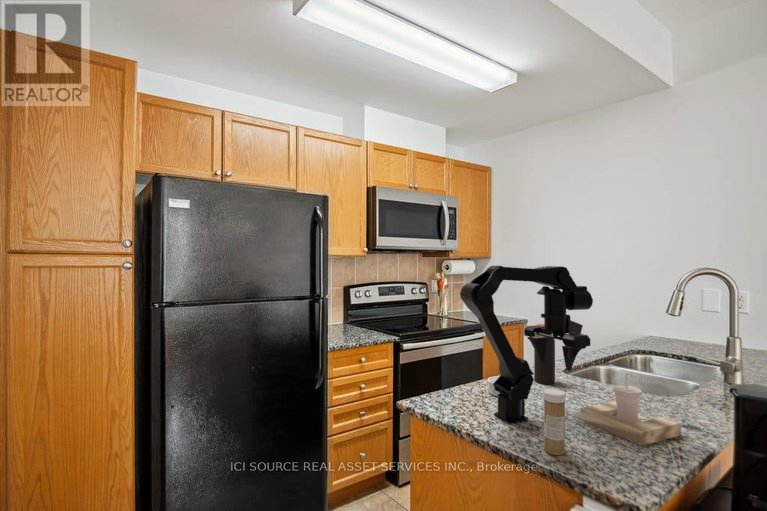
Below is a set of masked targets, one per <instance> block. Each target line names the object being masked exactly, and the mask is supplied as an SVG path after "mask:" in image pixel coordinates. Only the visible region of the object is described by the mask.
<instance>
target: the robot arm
mask: <svg viewBox="0 0 767 511" xmlns="http://www.w3.org/2000/svg"><path fill="white" fill-rule="evenodd" d="M503 281H511V282H512V281H514V282H516V281H517V282H531V283H535V284H539V285H542V287H541V288H540V289H539V290H538V291H537V292H536V294H537V295H540V296H541V295H542V296H543V300H544V302H543V303H544V304H543V306H544V308H543V309H544V310H543V312H544V313H541V314H540V318H541V319H543V318H544V322H543V324H544V326H539V325H537V324H536V325H526V326H525V328H524V332H523V333H524V336H526V337H527V340H529V341H530V343H531V345H532V347H533V348H534V349H535V351H536V353H537V355H538V357H539V359H540V361H541V362H542V363H544V362H545V355H546V342H547V341H548V339H549V338H553V339H554V340H558V341H562V343H563V344H564V345H562V346H561V348H562V354H563V360H564V366H565V370H566V371H567V372H569V371H571V370H572V367H573V365H574V363H575V361H576V358H577V356H578V354H579V352H580V351H581V350H584V349H586V348H587V347H591V338H590V337H589V335H587V334H583V333H582V330H583V324H581V323H579V322H576V321H573V320H571V315H570V314H568V313H567V310H568V311H579V310H580V311H582V310H589V309H590V308H591V307H593V303H594V300H593V299H594V298H593V297H592V294H591V292H590V291H588V286H587V285H586V286H584V285H577V284H576V282H575V281H574V279H573V277H572V275H571V274H570V271H569V269H568V268H567V267H566V266H561V265H560V266H554V265H548V266H539V267H535V268H525V267H511V266H503V265H490V266H488V268H486V269H485V270H484V271H483V272H482V273H480V274H479V275H477V276H476V277H474V279H472V280H471V281H470V282H468V283H466V284H464V285H463V286H462V288H461V290H460V293H459V295H460V299H461V301H462V302H463V303H464V304H465V306H466V307H467V309H468V310H469V311H470V312H471V313H472V314H473V315H474V316H476V318H477V321H479V323H480V326H481V328H482V329H483V331H484V334H485V336H486V337H487V339H488V342H489V344H490V346H491V348H492V349H493V352H494V354H495V356H496V357H497V360H498V363H499V364H498V368H499V369H498V370H499V373H500V374H499V376H498V377H499V378H498V379H497V380H496V381H495V382H494V384H493V385H494V388H495V390H496V391H498V392H499V393H500V394H498V397H497V412H494V414H493V415H494V416H495V417H497V418H499V419H501V420H502V421H504V422H506V423H508V424H513V423H518V422H523V421H528V420H529V417H527V416H525V413H526V412H525V411H526V408H525V406H526V405H525V404H526V403H525V402H526V401H525V400H528V397H529V395H530V391H531V388H532V386H533V383H534V381H535V380H534V372H533V371H532V370H531V367H530V365H529V363H528V361H527V360H525V359H522V358H521V357H518V356H516V354H515V352H514V350H513V348H512V345H511V343H510V341H509V340H508V337H507V336H506V334H505V332H504V329H503V327H502V325H501V324H500V321H499V320H498V318H497V316H496V313H495V310H494V306H495V305H494V304H495V302H494V299H493V295H494V294H496V292H497V291H498V290H499V287H500V285H501V283H502V282H503ZM550 287H551V288H550ZM511 387H512V388H511Z"/></svg>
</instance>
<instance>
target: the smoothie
mask: <svg viewBox="0 0 767 511" xmlns="http://www.w3.org/2000/svg"><path fill="white" fill-rule="evenodd" d="M612 392H614V399H615V401H616V405H617V413H618V418H620V419H622V420H625V421H627V422H630V423H633V424H635V423H638V415H639V408H640V402H641V397H642V396H643V393H642V392H643V391H642V390H641V389H640V388H638V387H634V386H631V385H629V372H626V371H625V385H622V384H620V385H619V384H618V385H614V386H613V390H612Z"/></svg>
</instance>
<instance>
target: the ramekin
mask: <svg viewBox="0 0 767 511" xmlns="http://www.w3.org/2000/svg"><path fill="white" fill-rule="evenodd" d="M498 378H499V376H490V377H488V378H487V383H488V392H489V394H491V395H492V396H495V397H497V398H498V394H500V393H499V392H498V391H496V390H495V388H494V385H493V384H494V382H495V381H496V380H497V379H498ZM511 388H512V387H511Z"/></svg>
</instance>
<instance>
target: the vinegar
mask: <svg viewBox="0 0 767 511" xmlns="http://www.w3.org/2000/svg"><path fill="white" fill-rule="evenodd" d="M536 325H539V326H544V323H538V324H536ZM533 353H534V354H533V355H534V356H533V358H534V360H533V364H534V368H533V371H534V372H533V373H534V374H533V379H534V381H535V383H537V384H540V385H553V384H555V382H556V339H553V338H549V339H548V341H547V342H546V355H545V362H544V363H542V362H541V361H540V359H539V357H538V355H537V353H536V351H535V349H534V351H533Z"/></svg>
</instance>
